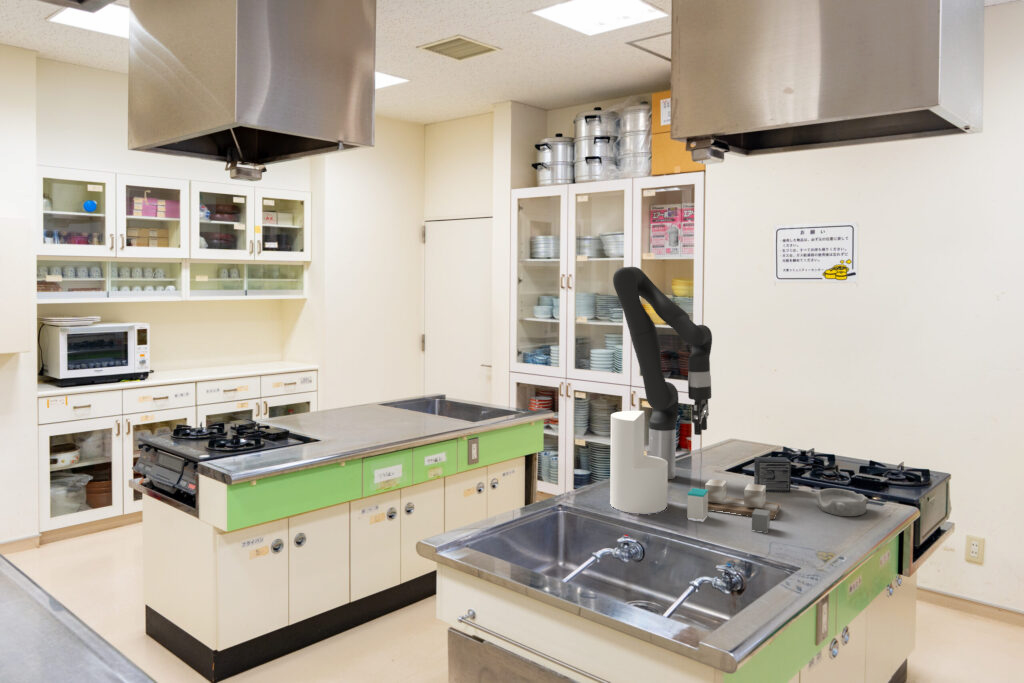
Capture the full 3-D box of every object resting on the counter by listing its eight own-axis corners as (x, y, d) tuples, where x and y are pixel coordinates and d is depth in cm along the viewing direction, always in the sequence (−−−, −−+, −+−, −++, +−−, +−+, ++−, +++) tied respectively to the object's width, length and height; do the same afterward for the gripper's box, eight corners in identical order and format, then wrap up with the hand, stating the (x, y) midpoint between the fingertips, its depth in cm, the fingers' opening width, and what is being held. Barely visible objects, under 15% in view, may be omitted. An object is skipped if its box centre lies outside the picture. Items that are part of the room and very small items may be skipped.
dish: (845, 520, 216) (846, 503, 216) (806, 507, 229) (806, 491, 228) (878, 513, 223) (879, 496, 223) (839, 501, 235) (839, 485, 235)
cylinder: (604, 511, 226) (605, 419, 223) (616, 495, 242) (617, 409, 240) (662, 517, 220) (663, 422, 218) (671, 500, 236) (672, 412, 234)
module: (687, 520, 217) (687, 493, 216) (692, 514, 222) (692, 487, 222) (702, 522, 215) (703, 495, 214) (707, 516, 220) (708, 489, 220)
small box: (786, 487, 250) (786, 456, 249) (791, 493, 244) (792, 461, 243) (753, 486, 251) (754, 455, 250) (757, 492, 245) (758, 460, 244)
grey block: (751, 531, 208) (752, 513, 207) (754, 526, 212) (755, 508, 212) (766, 533, 206) (767, 515, 205) (769, 528, 210) (770, 510, 210)
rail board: (690, 508, 228) (690, 485, 227) (699, 498, 238) (700, 475, 238) (773, 520, 217) (774, 495, 216) (779, 508, 227) (780, 484, 227)
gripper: (693, 381, 261) (694, 428, 262) (683, 387, 248) (684, 435, 249) (715, 382, 257) (716, 428, 258) (706, 387, 245) (707, 436, 246)
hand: (700, 432), depth 254 cm, fingers open, 8 cm apart
